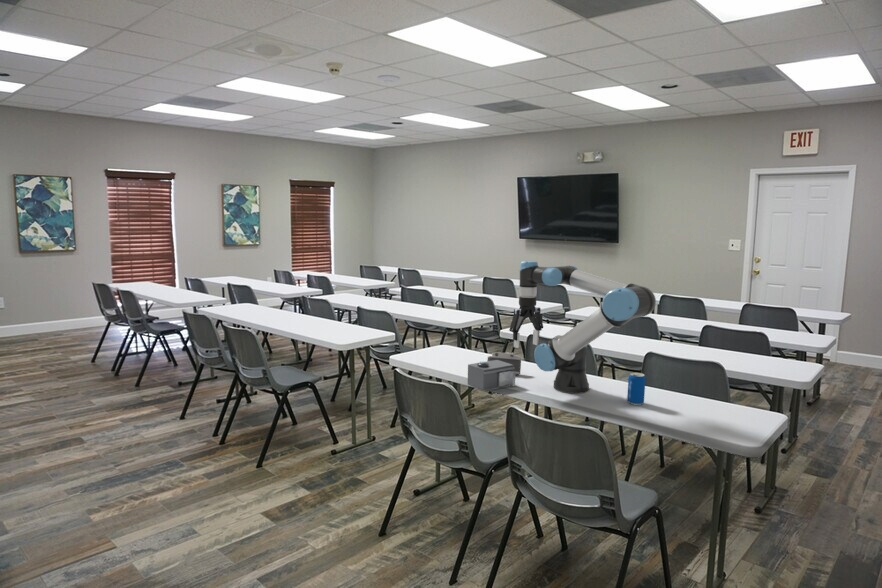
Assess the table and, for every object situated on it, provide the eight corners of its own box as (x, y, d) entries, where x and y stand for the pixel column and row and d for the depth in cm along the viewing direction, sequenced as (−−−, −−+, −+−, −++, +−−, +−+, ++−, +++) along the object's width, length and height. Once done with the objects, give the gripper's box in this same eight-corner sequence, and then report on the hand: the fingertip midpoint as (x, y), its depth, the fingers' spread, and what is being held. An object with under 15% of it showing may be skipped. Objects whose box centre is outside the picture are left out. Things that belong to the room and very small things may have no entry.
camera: (520, 374, 265) (521, 352, 268) (486, 371, 267) (488, 349, 270) (519, 377, 274) (520, 356, 277) (486, 374, 276) (488, 353, 278)
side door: (515, 385, 248) (515, 371, 247) (503, 388, 244) (503, 374, 243) (510, 383, 250) (510, 370, 249) (498, 386, 246) (498, 372, 245)
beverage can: (623, 401, 230) (625, 372, 229) (636, 400, 233) (638, 371, 231) (634, 406, 224) (636, 377, 223) (647, 404, 227) (649, 375, 225)
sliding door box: (514, 385, 251) (515, 361, 250) (484, 391, 241) (485, 366, 240) (496, 378, 261) (497, 356, 259) (467, 384, 251) (468, 360, 250)
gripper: (540, 293, 255) (539, 341, 258) (501, 297, 242) (500, 347, 245) (553, 295, 249) (550, 344, 252) (513, 299, 236) (512, 350, 239)
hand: (526, 346), depth 248 cm, fingers open, 11 cm apart
